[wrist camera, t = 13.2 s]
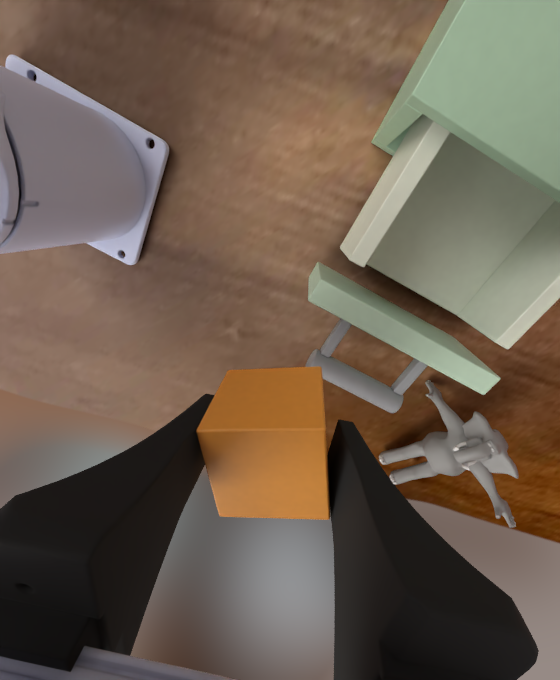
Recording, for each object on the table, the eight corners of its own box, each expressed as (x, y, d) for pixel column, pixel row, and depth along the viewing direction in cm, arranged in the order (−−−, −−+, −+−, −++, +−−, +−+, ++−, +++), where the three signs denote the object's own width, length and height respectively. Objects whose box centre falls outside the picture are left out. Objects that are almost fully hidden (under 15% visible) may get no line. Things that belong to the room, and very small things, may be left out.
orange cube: (242, 441, 15) (218, 517, 11) (227, 369, 13) (194, 430, 9) (325, 440, 14) (330, 520, 10) (321, 365, 12) (326, 428, 9)
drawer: (402, 395, 21) (429, 448, 16) (278, 330, 20) (268, 367, 15) (609, 159, 15) (758, 132, 10) (440, 43, 13) (513, -52, 9)
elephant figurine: (341, 417, 24) (443, 371, 18) (379, 403, 28) (472, 361, 22) (403, 552, 20) (554, 551, 14) (435, 514, 24) (565, 501, 18)
